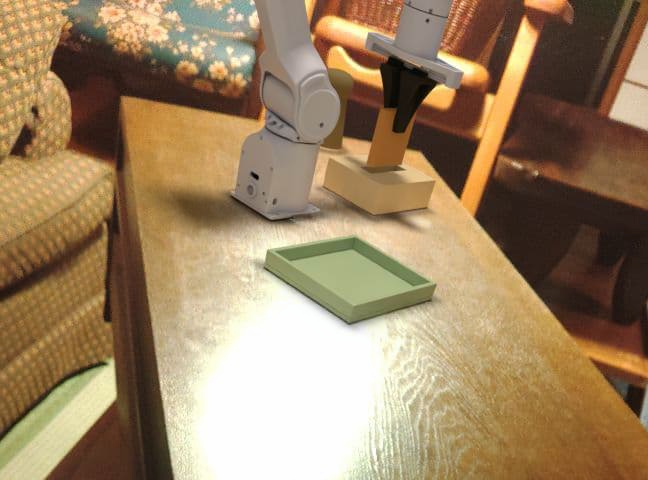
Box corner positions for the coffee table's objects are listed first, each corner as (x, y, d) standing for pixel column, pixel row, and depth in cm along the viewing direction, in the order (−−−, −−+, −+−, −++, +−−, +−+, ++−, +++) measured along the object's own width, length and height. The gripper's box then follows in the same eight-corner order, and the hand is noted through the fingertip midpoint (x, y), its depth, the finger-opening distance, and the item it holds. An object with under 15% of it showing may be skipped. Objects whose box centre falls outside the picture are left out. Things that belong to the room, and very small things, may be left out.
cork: (337, 155, 121) (354, 79, 113) (302, 143, 121) (317, 66, 113) (344, 147, 125) (361, 73, 118) (310, 135, 125) (325, 61, 118)
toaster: (372, 219, 103) (381, 185, 100) (321, 189, 106) (328, 156, 104) (429, 210, 112) (439, 179, 109) (380, 183, 116) (388, 152, 113)
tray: (349, 323, 78) (354, 305, 76) (263, 266, 83) (266, 249, 81) (431, 299, 88) (437, 283, 86) (351, 250, 93) (355, 234, 91)
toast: (371, 167, 100) (386, 110, 95) (365, 164, 100) (380, 107, 96) (401, 165, 105) (417, 111, 100) (395, 162, 105) (411, 108, 100)
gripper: (490, 32, 91) (452, 149, 99) (401, -6, 96) (372, 109, 105) (459, 27, 86) (421, 151, 95) (367, -12, 91) (340, 109, 100)
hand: (393, 129), depth 100 cm, fingers closed on toast, 1 cm apart
